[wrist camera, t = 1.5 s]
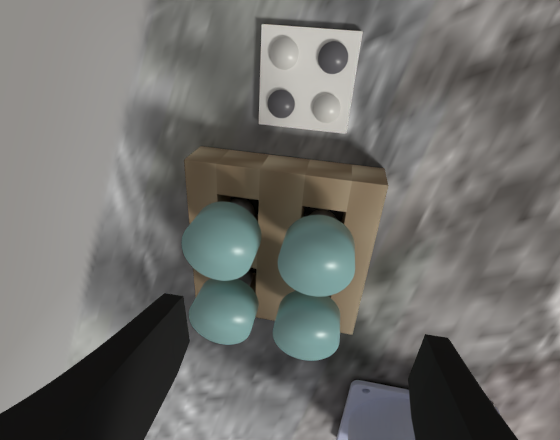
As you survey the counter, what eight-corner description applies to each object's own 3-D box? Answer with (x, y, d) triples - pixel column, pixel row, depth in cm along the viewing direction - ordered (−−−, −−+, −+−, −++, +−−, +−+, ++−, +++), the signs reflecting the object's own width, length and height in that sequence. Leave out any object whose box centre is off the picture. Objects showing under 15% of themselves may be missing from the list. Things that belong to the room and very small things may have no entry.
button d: (272, 186, 16) (253, 224, 13) (269, 240, 17) (252, 285, 14) (210, 178, 16) (178, 213, 13) (212, 232, 18) (184, 274, 15)
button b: (268, 256, 18) (251, 303, 15) (266, 299, 19) (250, 349, 16) (213, 247, 18) (186, 291, 15) (215, 290, 20) (190, 338, 17)
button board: (384, 168, 16) (388, 185, 14) (352, 309, 21) (352, 334, 19) (200, 146, 17) (184, 159, 15) (208, 284, 22) (196, 306, 20)
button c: (359, 198, 15) (361, 240, 12) (348, 252, 17) (348, 302, 14) (293, 189, 16) (280, 228, 13) (288, 243, 17) (275, 289, 14)
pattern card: (362, 31, 14) (362, 31, 13) (346, 131, 16) (346, 134, 15) (263, 23, 14) (260, 24, 14) (260, 122, 16) (258, 124, 16)
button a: (345, 268, 17) (344, 319, 14) (336, 311, 19) (334, 366, 16) (287, 259, 18) (274, 307, 15) (283, 302, 19) (271, 353, 16)
